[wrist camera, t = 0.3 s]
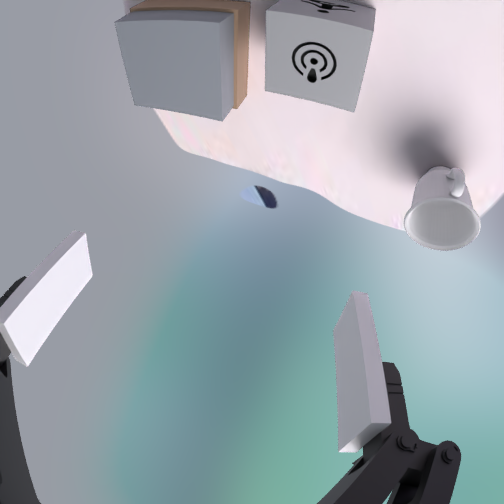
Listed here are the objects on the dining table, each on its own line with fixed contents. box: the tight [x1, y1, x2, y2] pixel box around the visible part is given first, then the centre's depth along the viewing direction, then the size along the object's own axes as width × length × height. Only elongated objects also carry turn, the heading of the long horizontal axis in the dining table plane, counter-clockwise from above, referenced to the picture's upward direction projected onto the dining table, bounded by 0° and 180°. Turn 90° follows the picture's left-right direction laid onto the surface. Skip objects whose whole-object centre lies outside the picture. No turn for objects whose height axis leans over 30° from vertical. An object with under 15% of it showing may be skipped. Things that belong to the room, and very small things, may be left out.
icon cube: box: [265, 0, 376, 112], centre depth 28 cm, size 10×10×10 cm
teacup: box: [404, 166, 481, 251], centre depth 39 cm, size 12×15×10 cm
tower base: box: [115, 0, 250, 121], centre depth 36 cm, size 16×16×8 cm
